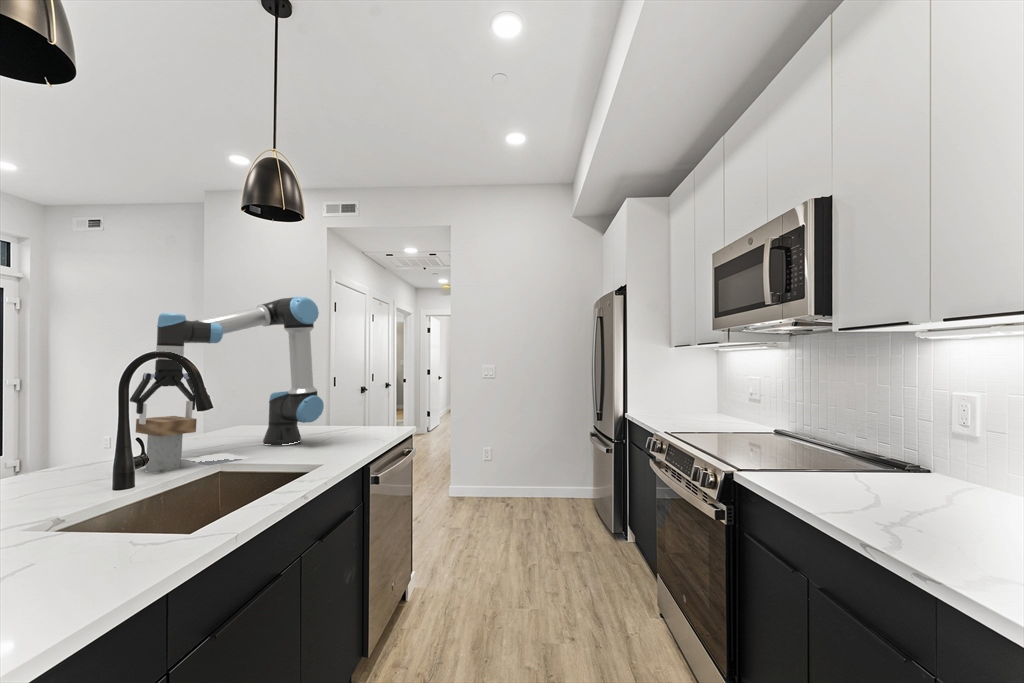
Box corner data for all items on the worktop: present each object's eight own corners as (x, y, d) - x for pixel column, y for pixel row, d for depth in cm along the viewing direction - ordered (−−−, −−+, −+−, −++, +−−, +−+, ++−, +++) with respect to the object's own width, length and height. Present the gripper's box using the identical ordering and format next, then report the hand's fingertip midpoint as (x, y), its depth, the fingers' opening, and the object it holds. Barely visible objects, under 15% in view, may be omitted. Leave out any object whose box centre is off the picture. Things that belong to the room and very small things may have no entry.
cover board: (172, 428, 162) (173, 415, 163) (195, 432, 155) (196, 418, 155) (135, 432, 153) (136, 418, 153) (158, 436, 146) (159, 422, 146)
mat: (223, 452, 182) (223, 451, 182) (253, 458, 172) (253, 457, 172) (178, 459, 168) (178, 458, 168) (208, 466, 158) (208, 465, 158)
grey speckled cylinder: (166, 472, 148) (168, 434, 149) (137, 472, 149) (139, 434, 149) (187, 466, 158) (189, 430, 159) (160, 465, 158) (162, 430, 159)
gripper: (203, 359, 168) (200, 417, 167) (119, 357, 146) (115, 424, 145) (214, 359, 164) (211, 419, 163) (130, 358, 142) (126, 426, 141)
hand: (166, 421), depth 154 cm, fingers open, 13 cm apart
